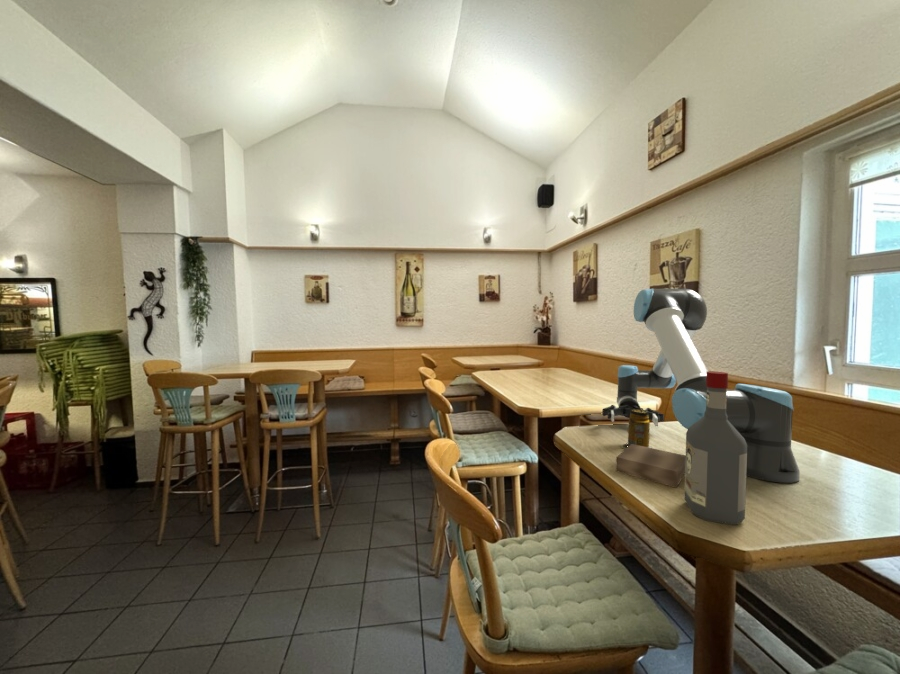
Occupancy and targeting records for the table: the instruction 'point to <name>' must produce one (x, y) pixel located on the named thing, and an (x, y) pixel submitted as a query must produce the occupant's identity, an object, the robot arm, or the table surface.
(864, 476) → the table surface
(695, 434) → the liquor
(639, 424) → the condiment
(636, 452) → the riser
